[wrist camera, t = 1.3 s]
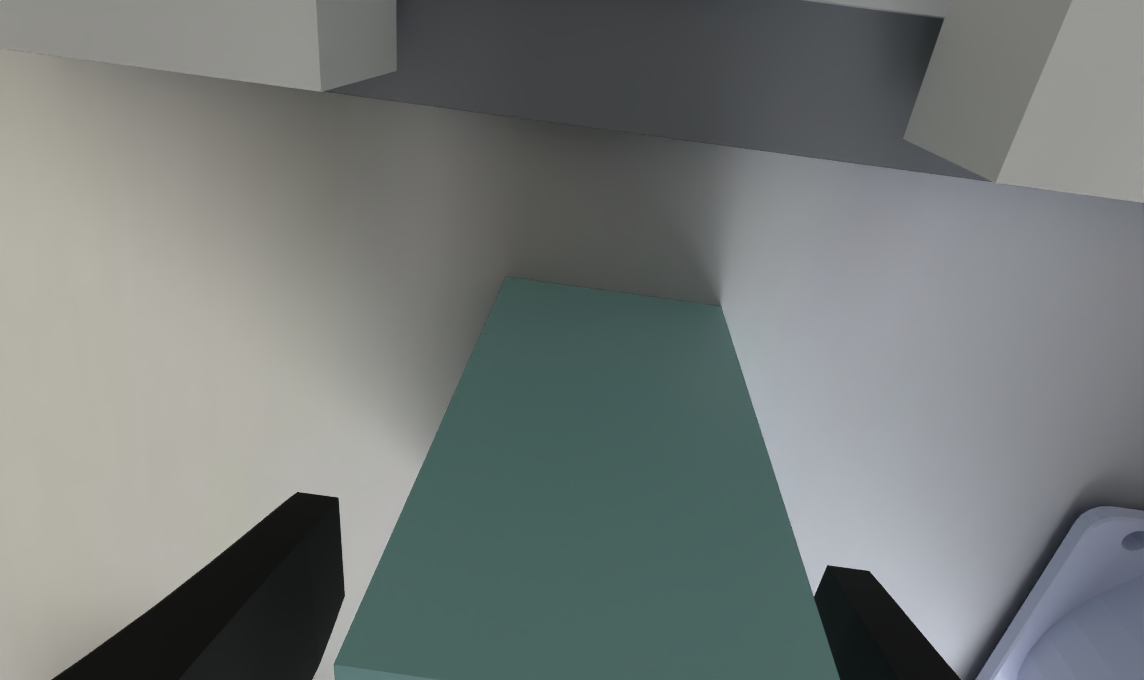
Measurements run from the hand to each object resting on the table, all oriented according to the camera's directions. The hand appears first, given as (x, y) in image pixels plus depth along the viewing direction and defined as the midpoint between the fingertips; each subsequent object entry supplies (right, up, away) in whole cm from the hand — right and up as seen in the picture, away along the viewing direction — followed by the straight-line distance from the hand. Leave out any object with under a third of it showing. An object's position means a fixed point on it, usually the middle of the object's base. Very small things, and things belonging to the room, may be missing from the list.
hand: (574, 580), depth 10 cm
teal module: (0, +2, +4) cm, 4 cm away
